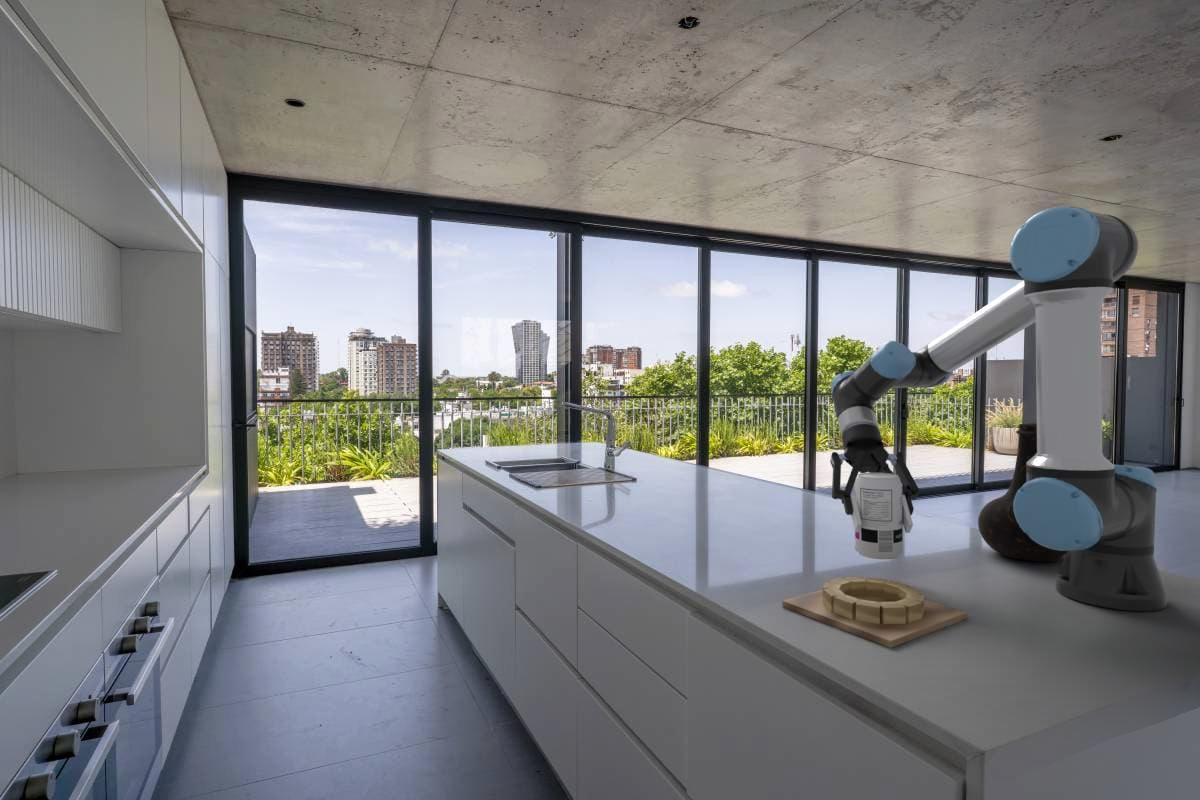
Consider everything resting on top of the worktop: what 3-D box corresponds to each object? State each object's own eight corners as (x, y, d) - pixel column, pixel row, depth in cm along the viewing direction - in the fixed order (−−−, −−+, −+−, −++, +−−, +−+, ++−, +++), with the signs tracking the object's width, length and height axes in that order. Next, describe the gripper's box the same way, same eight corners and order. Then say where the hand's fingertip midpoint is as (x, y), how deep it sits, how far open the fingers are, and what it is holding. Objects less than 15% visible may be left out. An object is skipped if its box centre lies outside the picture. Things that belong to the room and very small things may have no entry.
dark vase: (966, 556, 139) (968, 424, 138) (992, 540, 152) (993, 419, 151) (1068, 574, 126) (1071, 428, 125) (1087, 555, 139) (1090, 422, 138)
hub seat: (967, 618, 105) (967, 596, 105) (890, 647, 94) (890, 623, 94) (858, 584, 122) (858, 566, 122) (782, 606, 111) (782, 585, 111)
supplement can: (846, 551, 127) (845, 473, 127) (881, 547, 130) (881, 471, 129) (875, 562, 120) (874, 479, 119) (912, 557, 122) (912, 476, 122)
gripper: (909, 445, 138) (939, 540, 123) (805, 445, 141) (821, 538, 125) (918, 421, 133) (950, 517, 117) (809, 422, 135) (827, 516, 120)
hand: (883, 528), depth 121 cm, fingers closed on supplement can, 8 cm apart
